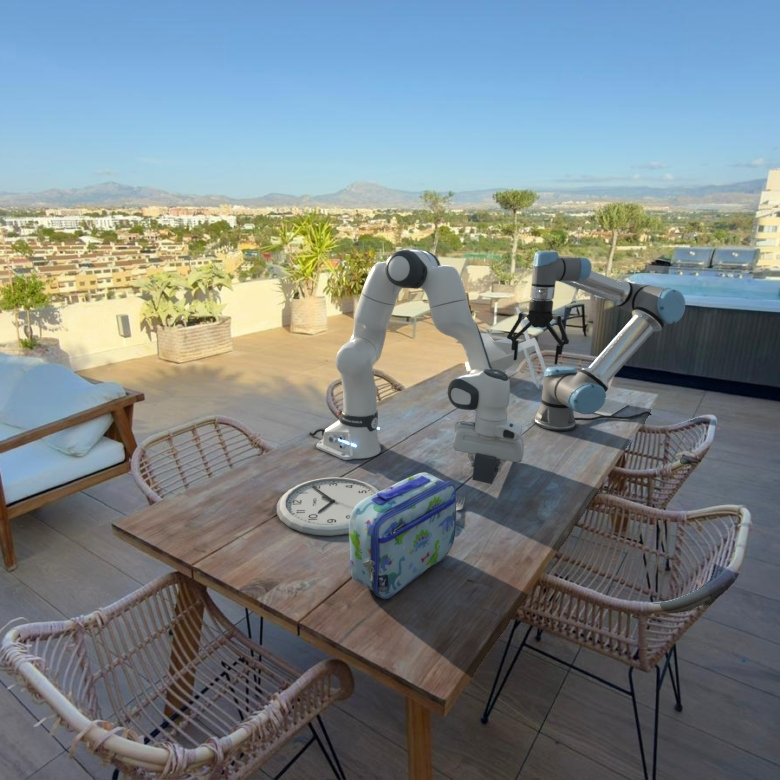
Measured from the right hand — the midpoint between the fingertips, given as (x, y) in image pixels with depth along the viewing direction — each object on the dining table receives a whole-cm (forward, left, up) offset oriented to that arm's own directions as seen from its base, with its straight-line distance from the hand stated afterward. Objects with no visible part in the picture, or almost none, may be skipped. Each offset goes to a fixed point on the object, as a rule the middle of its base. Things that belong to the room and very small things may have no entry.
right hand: (535, 361), depth 179 cm
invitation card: (-37, -44, -30) cm, 65 cm away
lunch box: (+37, +80, -30) cm, 93 cm away
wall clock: (+59, +54, -30) cm, 86 cm away
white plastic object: (+2, -74, -30) cm, 79 cm away
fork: (+26, +56, -30) cm, 68 cm away
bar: (+14, +26, -27) cm, 41 cm away
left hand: (+17, +36, -24) cm, 47 cm away
